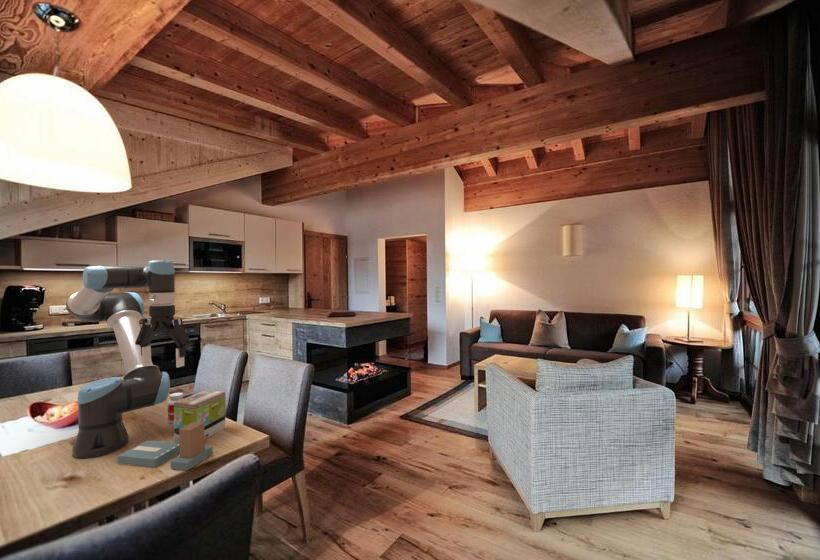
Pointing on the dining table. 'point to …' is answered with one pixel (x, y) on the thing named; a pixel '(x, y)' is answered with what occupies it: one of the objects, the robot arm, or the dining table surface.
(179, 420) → the tea box
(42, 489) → the dining table surface
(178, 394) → the pill bottle
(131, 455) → the ticket
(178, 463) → the stub
